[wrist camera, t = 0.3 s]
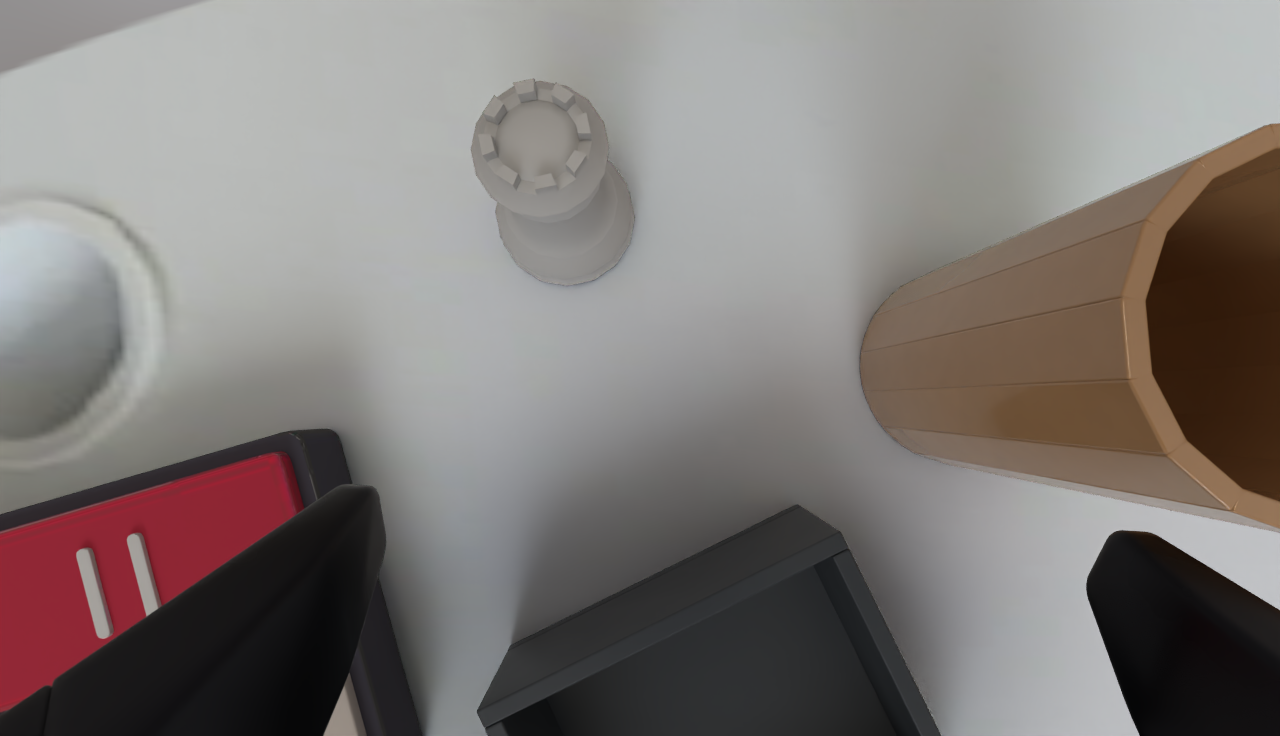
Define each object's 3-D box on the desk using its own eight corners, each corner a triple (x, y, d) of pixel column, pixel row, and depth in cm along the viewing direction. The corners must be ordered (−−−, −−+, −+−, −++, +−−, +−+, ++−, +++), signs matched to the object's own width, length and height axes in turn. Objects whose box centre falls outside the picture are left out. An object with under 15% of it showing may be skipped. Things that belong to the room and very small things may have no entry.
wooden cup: (1084, 411, 24) (1615, 423, 11) (913, 495, 24) (1246, 610, 11) (996, 239, 24) (1414, 52, 11) (827, 322, 24) (1050, 229, 11)
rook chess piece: (473, 222, 24) (392, 135, 16) (567, 128, 24) (533, -4, 16) (568, 316, 24) (535, 273, 16) (662, 221, 24) (675, 132, 16)
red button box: (396, 814, 20) (-176, 1004, 19) (432, 742, 24) (-30, 893, 23) (289, 426, 20) (-275, 590, 19) (343, 424, 24) (-114, 557, 23)
